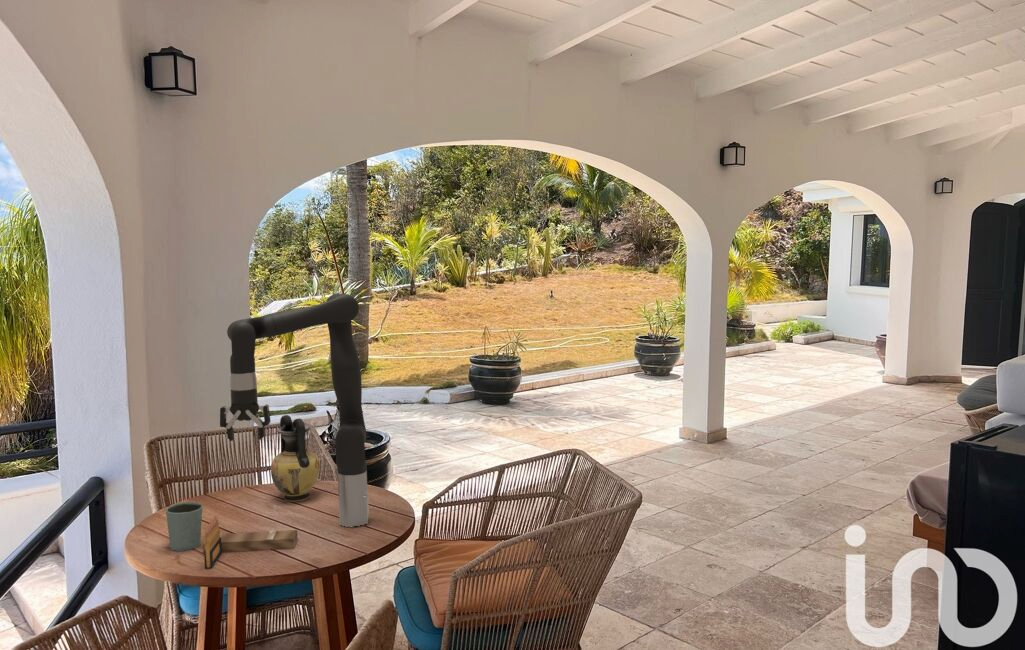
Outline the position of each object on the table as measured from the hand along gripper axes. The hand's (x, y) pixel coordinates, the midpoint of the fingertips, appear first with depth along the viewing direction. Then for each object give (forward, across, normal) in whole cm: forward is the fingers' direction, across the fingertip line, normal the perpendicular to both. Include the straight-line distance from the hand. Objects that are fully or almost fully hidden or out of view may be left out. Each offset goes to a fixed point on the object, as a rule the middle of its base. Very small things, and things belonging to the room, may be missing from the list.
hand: (246, 439), depth 223 cm
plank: (+32, -1, +4) cm, 32 cm away
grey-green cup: (+32, +19, 0) cm, 37 cm away
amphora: (+32, -7, -40) cm, 52 cm away
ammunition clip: (+32, +8, +13) cm, 36 cm away
